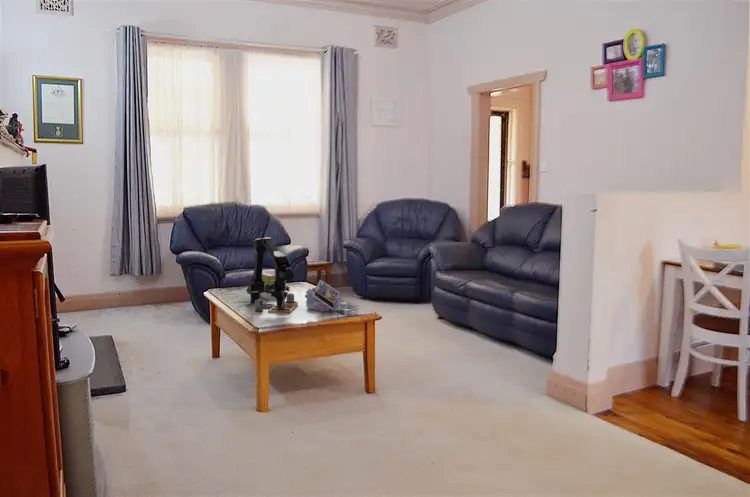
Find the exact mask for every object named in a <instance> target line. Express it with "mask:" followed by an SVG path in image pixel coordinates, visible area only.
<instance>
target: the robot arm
mask: <svg viewBox="0 0 750 497" xmlns="http://www.w3.org/2000/svg"><path fill="white" fill-rule="evenodd" d="M252 249H253V251H254V252H255V253H254V263H253V264H254V265H253V275H252V277H251V279H249V285H248V286H247V289H246V293H247V294H249V295H250V303H251V304H255V300H258V299H260V300H261V296H260V293H263V292H264V283H265V282H264V281H263V279H262V272H263V270H264V269H263V268H264V267H263V266H264V257H265V253H266V252H268V253H269V255H270V257H271V262H272V264H273V266H274V267H273V270H274V273H275V281H274V283H272V284H266V285H265V290H266V292H268V291H270V290H273V289H274V291H272V292H271V296H273V297H275V300H276V304H277V303H278V307H281V305H282V302H283V299H284V297H285V300H287V297H286V296H287V294H289V292H290V290H291V289H290V286H289V285H287V284H286V282H291V281H292V280H293V279H294V277H295V273H294V272H293V270H291V264H290V262H289V260H288V257H287V256H286V254H284V252H281V251H280V250H279V249H278V248H277V246H276V245H275V243H274V241H273V239H272V237H263V238H262V237H261V238H255V239H253V241H252Z"/></svg>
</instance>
